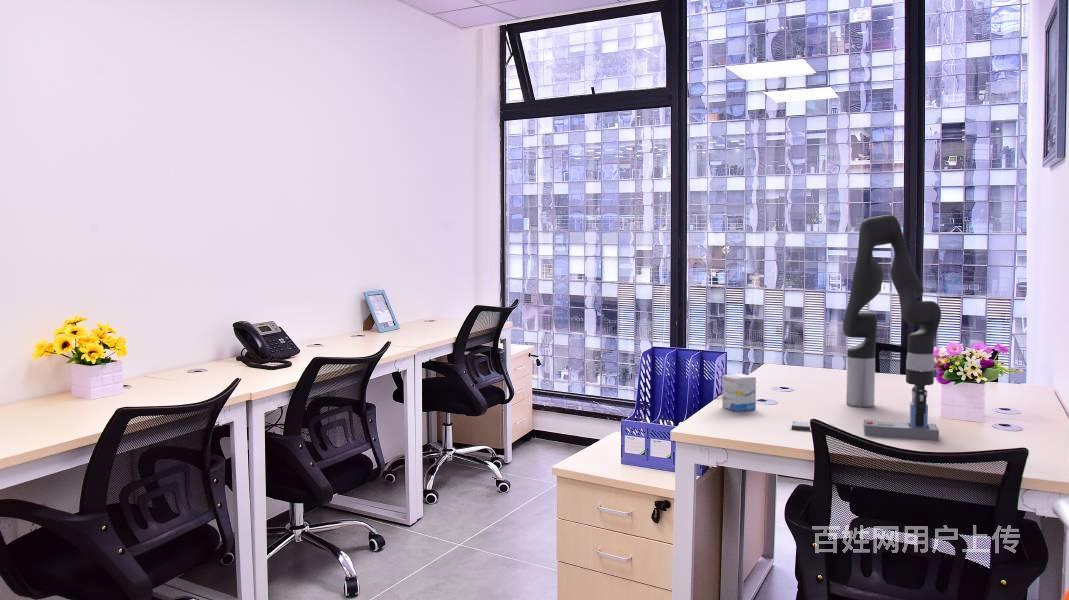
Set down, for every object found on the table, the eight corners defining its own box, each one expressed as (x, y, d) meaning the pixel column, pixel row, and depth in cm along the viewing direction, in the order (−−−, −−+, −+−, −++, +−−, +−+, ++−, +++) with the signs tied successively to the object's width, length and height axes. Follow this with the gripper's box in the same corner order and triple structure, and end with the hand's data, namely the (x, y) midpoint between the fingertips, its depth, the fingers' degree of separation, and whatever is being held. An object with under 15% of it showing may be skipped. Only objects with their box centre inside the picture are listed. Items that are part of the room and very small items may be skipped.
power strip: (863, 429, 244) (863, 418, 243) (935, 434, 236) (935, 422, 236) (864, 435, 236) (864, 423, 236) (938, 440, 229) (939, 428, 229)
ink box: (756, 409, 273) (756, 376, 272) (736, 412, 270) (736, 378, 269) (741, 405, 281) (741, 372, 280) (721, 407, 278) (721, 374, 277)
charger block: (909, 427, 237) (910, 401, 237) (925, 429, 236) (926, 401, 235) (910, 431, 233) (911, 403, 232) (927, 432, 232) (927, 404, 231)
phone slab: (792, 424, 251) (792, 420, 250) (832, 427, 246) (832, 423, 246) (791, 429, 244) (791, 425, 244) (832, 432, 240) (832, 428, 240)
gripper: (904, 363, 241) (902, 418, 242) (908, 371, 228) (906, 428, 229) (931, 364, 238) (929, 420, 239) (936, 372, 225) (935, 430, 226)
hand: (918, 424), depth 234 cm, fingers closed on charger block, 4 cm apart
